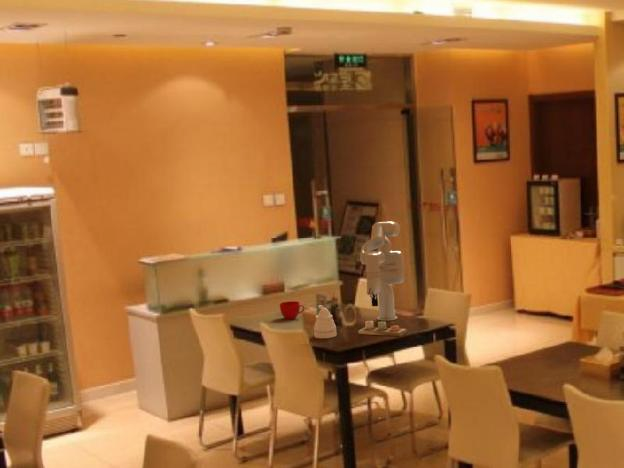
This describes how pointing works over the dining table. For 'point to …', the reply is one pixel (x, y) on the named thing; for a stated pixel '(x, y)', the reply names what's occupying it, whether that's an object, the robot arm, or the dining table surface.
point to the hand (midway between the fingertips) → (375, 305)
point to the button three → (395, 328)
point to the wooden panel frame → (381, 331)
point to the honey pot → (324, 324)
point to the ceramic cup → (290, 309)
